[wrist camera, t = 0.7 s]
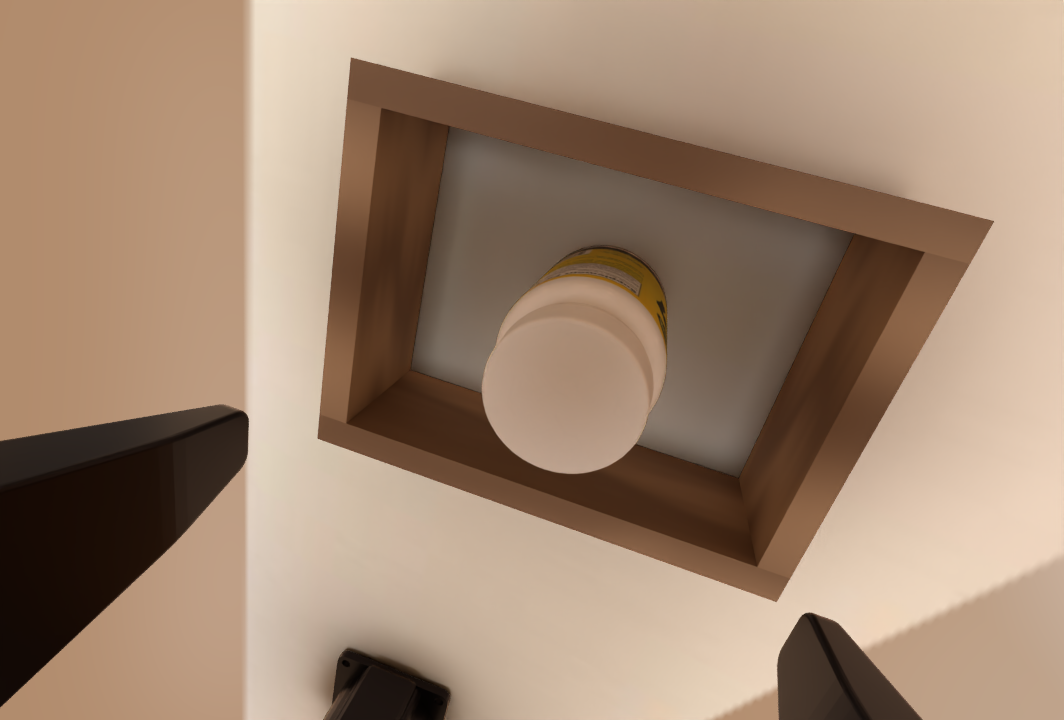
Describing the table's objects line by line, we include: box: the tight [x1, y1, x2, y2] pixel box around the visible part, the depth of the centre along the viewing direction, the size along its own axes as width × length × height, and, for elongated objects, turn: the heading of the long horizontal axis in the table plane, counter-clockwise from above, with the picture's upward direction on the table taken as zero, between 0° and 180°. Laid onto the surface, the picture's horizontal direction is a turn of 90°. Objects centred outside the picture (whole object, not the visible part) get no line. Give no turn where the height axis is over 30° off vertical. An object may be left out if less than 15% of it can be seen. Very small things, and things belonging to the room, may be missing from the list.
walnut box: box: [318, 58, 994, 602], centre depth 18 cm, size 12×16×5 cm
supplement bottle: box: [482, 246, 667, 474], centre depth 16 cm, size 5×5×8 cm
